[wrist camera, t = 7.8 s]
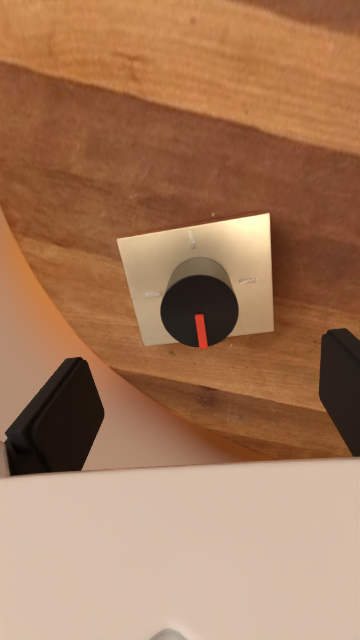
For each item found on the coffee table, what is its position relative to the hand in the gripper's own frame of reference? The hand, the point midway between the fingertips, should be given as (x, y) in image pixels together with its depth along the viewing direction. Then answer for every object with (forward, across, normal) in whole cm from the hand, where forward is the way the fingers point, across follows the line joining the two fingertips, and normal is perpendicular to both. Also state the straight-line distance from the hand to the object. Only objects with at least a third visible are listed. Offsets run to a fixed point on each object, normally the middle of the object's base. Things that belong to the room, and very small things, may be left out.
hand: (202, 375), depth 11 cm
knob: (+13, 0, 0) cm, 13 cm away
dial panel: (+16, 0, 0) cm, 16 cm away
